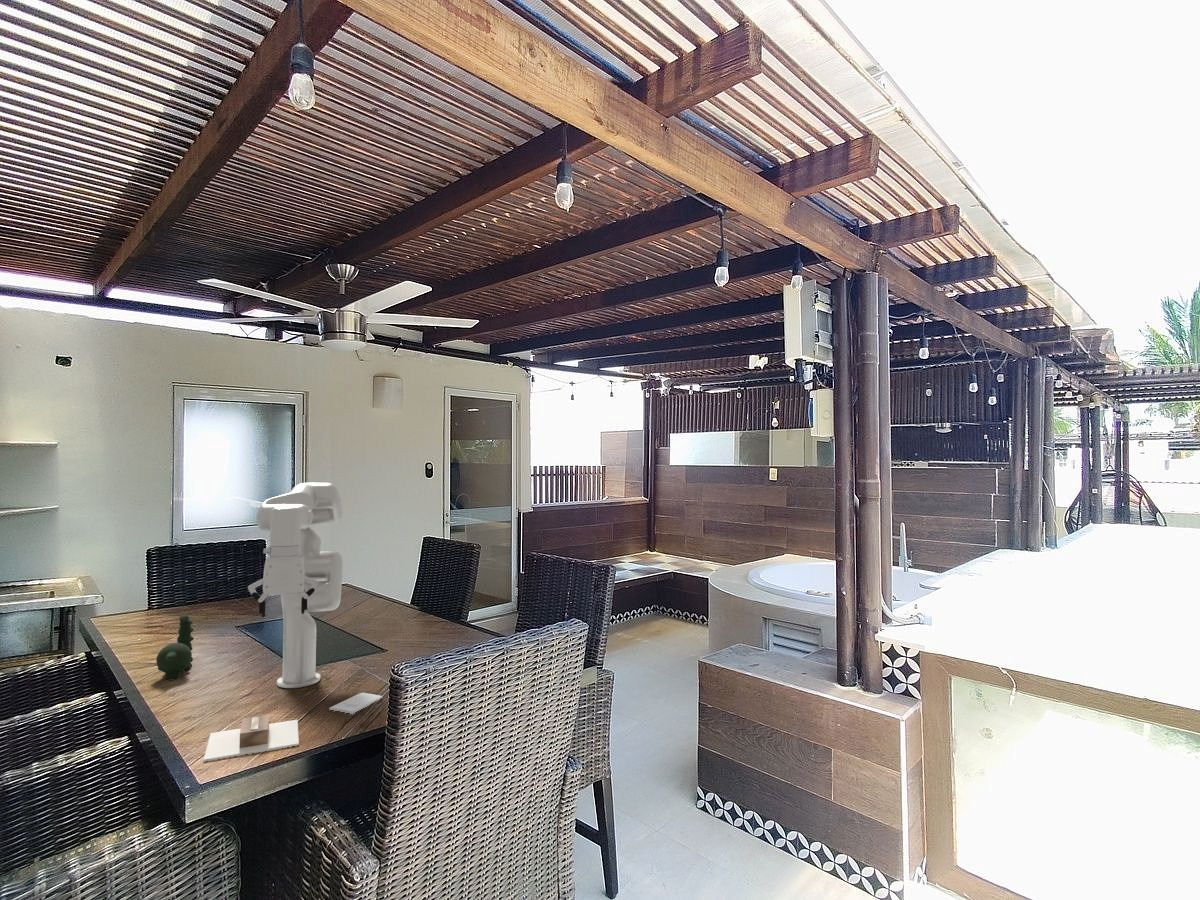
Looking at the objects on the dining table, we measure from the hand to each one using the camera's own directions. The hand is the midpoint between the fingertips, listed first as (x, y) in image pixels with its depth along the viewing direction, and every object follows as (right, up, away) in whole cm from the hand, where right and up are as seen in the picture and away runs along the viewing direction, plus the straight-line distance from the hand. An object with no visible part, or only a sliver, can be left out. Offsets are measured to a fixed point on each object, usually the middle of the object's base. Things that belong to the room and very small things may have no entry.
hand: (283, 614), depth 171 cm
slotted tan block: (0, -27, -14) cm, 31 cm away
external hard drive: (+16, -30, +10) cm, 35 cm away
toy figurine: (-53, -29, +35) cm, 70 cm away
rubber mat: (0, -28, -14) cm, 31 cm away
